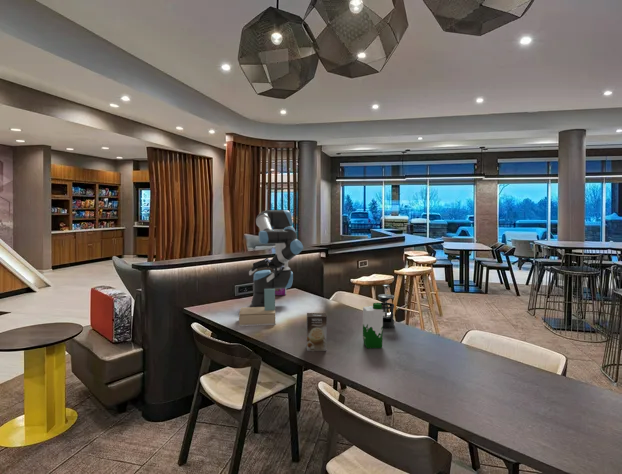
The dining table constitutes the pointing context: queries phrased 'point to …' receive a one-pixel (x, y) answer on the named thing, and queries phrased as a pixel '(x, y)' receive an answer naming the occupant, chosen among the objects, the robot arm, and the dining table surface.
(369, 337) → the milk carton
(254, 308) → the carton lid
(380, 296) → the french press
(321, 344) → the coffee box
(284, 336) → the dining table surface
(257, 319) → the carton
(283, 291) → the candy bar box
